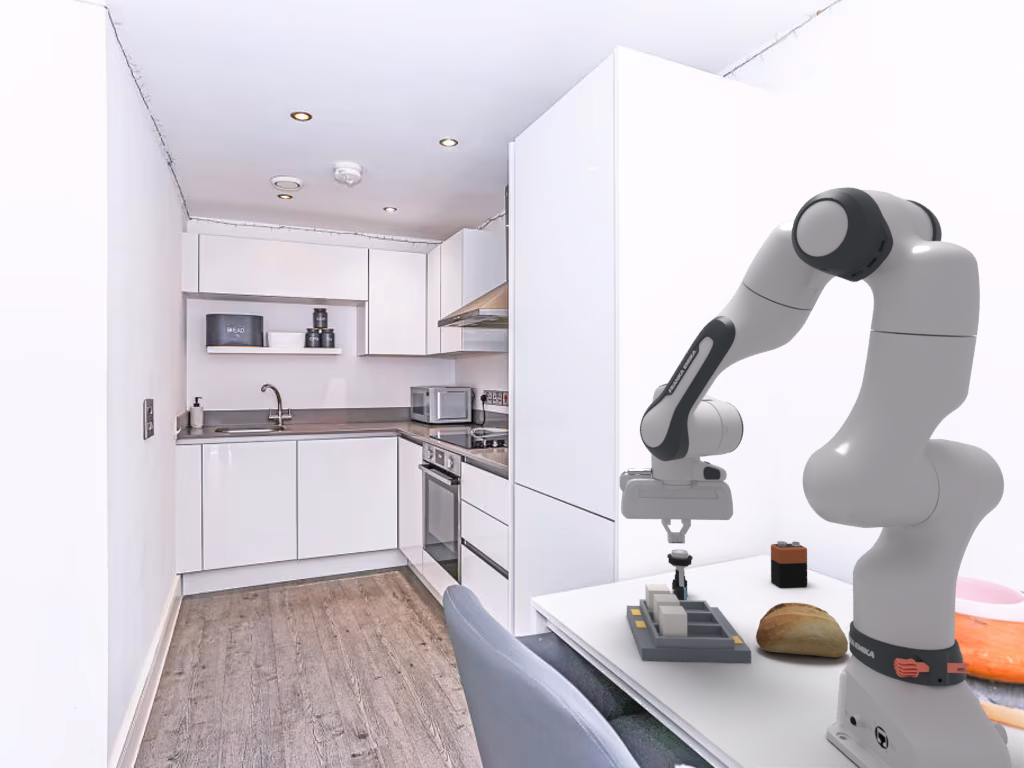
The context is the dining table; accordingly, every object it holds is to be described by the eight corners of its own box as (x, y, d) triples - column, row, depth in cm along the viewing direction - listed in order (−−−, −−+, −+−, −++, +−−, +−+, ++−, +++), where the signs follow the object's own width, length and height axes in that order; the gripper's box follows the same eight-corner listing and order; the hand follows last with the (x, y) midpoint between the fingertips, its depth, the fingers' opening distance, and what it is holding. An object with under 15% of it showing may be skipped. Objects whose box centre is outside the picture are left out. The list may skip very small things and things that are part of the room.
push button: (663, 591, 136) (663, 546, 136) (687, 591, 136) (687, 546, 136) (670, 601, 130) (670, 554, 130) (695, 601, 129) (695, 555, 130)
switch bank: (751, 662, 101) (750, 641, 101) (641, 660, 102) (641, 639, 102) (717, 617, 121) (717, 599, 121) (626, 615, 122) (626, 598, 122)
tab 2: (679, 629, 109) (679, 602, 109) (657, 629, 110) (657, 601, 110) (675, 621, 113) (675, 594, 113) (653, 620, 114) (653, 594, 114)
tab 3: (687, 643, 103) (687, 614, 103) (663, 643, 104) (663, 613, 104) (682, 634, 107) (682, 605, 107) (659, 633, 108) (659, 605, 108)
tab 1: (670, 617, 115) (670, 590, 115) (648, 616, 116) (648, 590, 116) (666, 609, 119) (665, 584, 119) (645, 609, 120) (645, 583, 120)
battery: (770, 582, 142) (769, 540, 142) (797, 581, 143) (797, 539, 143) (780, 588, 138) (779, 544, 138) (808, 587, 138) (808, 544, 138)
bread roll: (747, 639, 110) (747, 595, 110) (832, 642, 109) (832, 597, 109) (765, 663, 101) (765, 615, 101) (858, 666, 100) (858, 617, 100)
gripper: (621, 470, 111) (621, 546, 111) (735, 471, 109) (736, 548, 109) (617, 466, 117) (618, 537, 117) (726, 467, 116) (726, 539, 115)
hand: (676, 542), depth 113 cm, fingers closed
